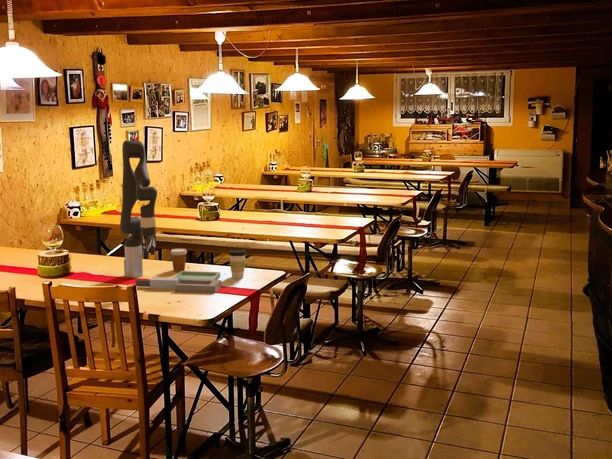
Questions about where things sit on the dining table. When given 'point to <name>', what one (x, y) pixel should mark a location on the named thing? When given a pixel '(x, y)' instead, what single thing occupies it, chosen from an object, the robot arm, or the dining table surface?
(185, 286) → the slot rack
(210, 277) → the tray
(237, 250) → the coffee cup
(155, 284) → the tall grey bar
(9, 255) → the dining table surface
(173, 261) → the disposable coffee cup
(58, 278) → the dining table surface
